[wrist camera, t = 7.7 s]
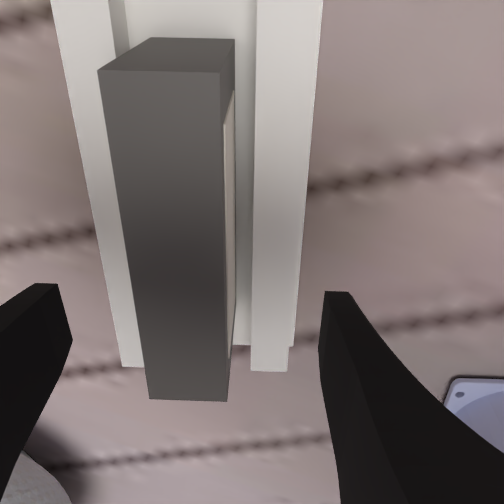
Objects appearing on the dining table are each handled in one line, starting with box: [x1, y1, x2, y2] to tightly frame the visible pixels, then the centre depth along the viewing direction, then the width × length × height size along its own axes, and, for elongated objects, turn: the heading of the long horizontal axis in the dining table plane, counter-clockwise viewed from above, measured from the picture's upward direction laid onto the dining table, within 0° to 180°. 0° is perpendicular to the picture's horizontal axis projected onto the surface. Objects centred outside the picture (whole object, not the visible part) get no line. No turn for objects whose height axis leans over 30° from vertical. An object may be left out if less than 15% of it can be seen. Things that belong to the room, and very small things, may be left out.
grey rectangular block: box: [97, 37, 236, 402], centre depth 17 cm, size 12×3×6 cm, turn 179°
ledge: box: [50, 0, 323, 372], centre depth 19 cm, size 18×9×3 cm, turn 179°
